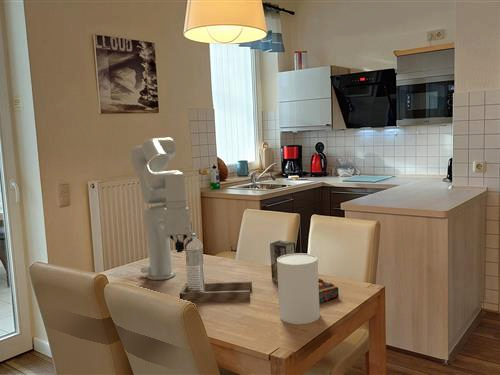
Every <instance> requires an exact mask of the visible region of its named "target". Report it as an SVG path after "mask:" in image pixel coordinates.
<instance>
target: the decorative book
mask: <svg viewBox="0 0 500 375" xmlns="http://www.w3.org/2000/svg"><path fill="white" fill-rule="evenodd" d="M318 284H319V306H320V305H321V304H322V303H324V302H327V301H331V300H335V299H338V298H340V295H339V294H340V293H339V287H338V286H335V285H334V283H331V282H330V283H328V282H326V281H324V280H323V279H321V278H318Z"/></svg>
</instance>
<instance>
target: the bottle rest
mask: <svg viewBox="0 0 500 375" xmlns="http://www.w3.org/2000/svg"><path fill="white" fill-rule="evenodd" d="M205 289H206V292H188V284H187V282H186V283H185V284H184V285H183V287H182V289H181V290H180V292H179V300H180V299H183V300H187V301H191V302H190V303H206V302H210V303H211V302H216V303H217V302H236V301H237V302H242V301H243V302H246V301H251V291H253V281H252V280H248V281H247V280H246V281H245V280H244V281H221V282H220V281H219V282H217V281H216V282H215V281H214V282H213V281H212V282H205Z"/></svg>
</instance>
